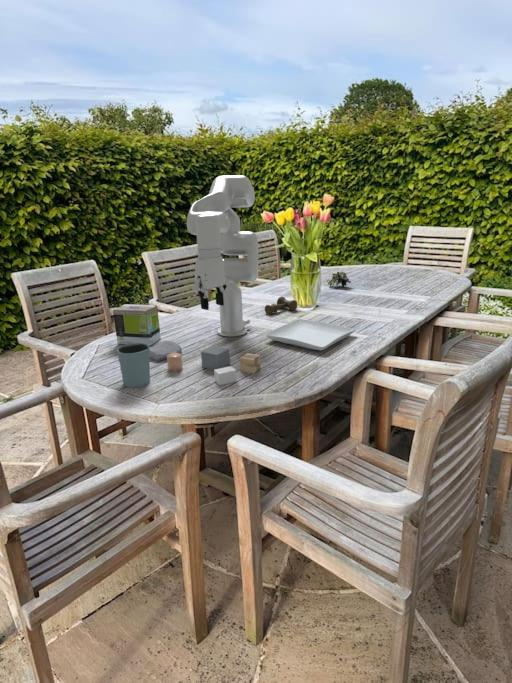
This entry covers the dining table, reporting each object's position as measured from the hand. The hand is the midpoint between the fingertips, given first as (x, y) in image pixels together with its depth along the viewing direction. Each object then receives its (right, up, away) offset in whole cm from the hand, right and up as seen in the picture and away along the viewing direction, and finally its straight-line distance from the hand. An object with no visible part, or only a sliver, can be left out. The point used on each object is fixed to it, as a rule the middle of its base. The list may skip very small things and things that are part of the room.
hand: (212, 306), depth 156 cm
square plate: (+37, -11, +32) cm, 50 cm away
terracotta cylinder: (-13, -21, +5) cm, 26 cm away
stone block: (-20, -17, +18) cm, 32 cm away
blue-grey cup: (-24, -25, -4) cm, 35 cm away
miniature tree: (+63, +20, +117) cm, 135 cm away
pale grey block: (+5, -25, -5) cm, 26 cm away
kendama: (+28, +3, +73) cm, 78 cm away
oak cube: (+13, -22, +3) cm, 25 cm away
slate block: (+1, -21, +7) cm, 22 cm away
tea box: (-33, -12, +34) cm, 49 cm away
